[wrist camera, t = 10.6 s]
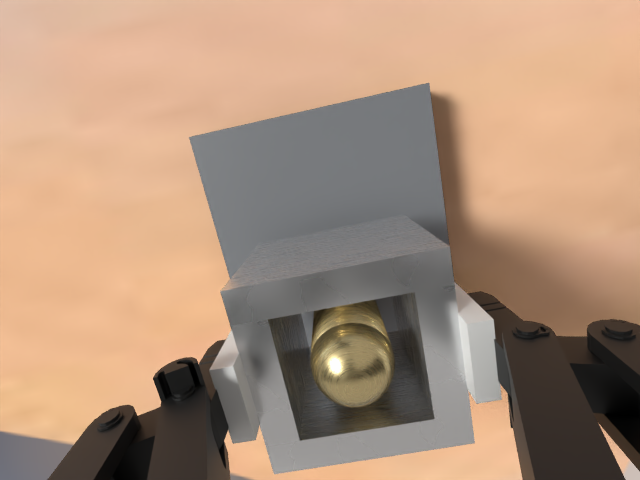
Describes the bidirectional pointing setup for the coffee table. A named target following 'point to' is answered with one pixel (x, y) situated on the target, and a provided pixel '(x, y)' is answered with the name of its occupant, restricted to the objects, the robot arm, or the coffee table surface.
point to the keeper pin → (351, 354)
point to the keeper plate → (324, 175)
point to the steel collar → (407, 343)
